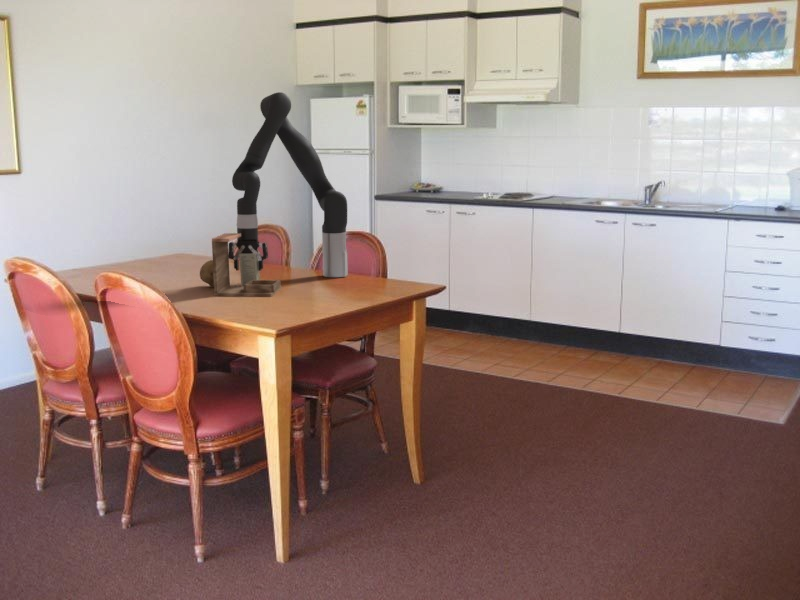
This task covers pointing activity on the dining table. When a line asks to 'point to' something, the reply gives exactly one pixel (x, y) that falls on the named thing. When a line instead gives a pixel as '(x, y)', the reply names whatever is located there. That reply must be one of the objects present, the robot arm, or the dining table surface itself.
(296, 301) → the dining table surface
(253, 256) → the skincare box
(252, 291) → the wooden display stand
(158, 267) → the dining table surface
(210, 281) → the natural sponge
